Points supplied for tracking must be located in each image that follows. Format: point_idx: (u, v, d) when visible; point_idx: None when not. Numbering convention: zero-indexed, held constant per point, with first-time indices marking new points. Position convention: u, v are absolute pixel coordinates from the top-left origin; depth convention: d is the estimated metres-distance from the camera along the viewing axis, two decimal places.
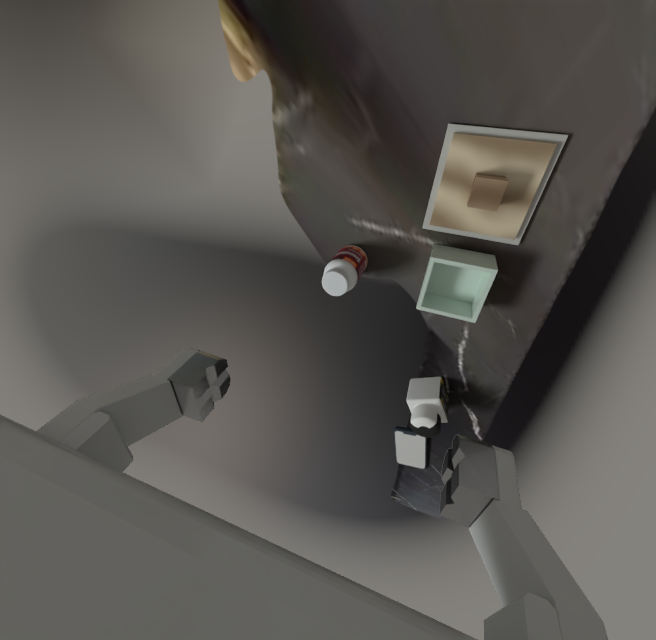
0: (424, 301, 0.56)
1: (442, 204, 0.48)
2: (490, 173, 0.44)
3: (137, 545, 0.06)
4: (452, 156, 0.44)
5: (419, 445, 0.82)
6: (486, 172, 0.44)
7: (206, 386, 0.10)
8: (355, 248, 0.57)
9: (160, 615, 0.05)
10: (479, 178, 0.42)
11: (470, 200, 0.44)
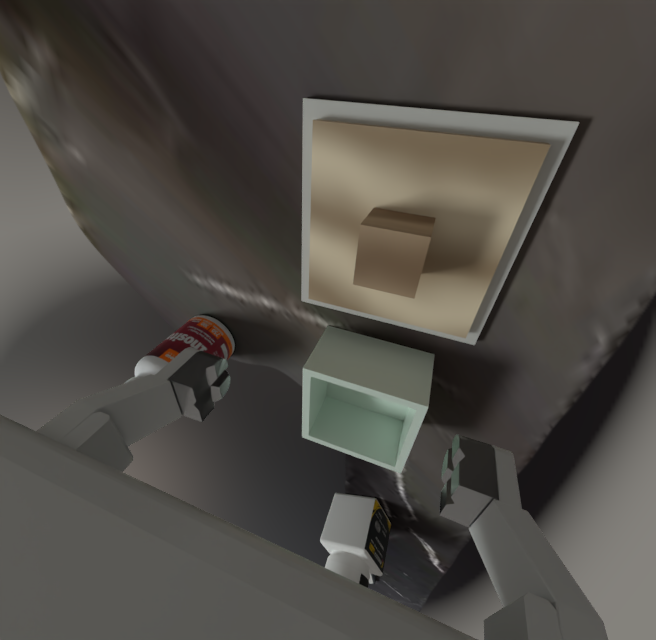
0: (319, 420, 0.32)
1: (323, 264, 0.24)
2: (403, 210, 0.20)
3: (137, 545, 0.06)
4: (320, 172, 0.20)
5: None
6: (394, 207, 0.20)
7: (206, 386, 0.10)
8: (204, 325, 0.33)
9: (160, 615, 0.05)
10: (366, 228, 0.18)
11: (356, 272, 0.19)
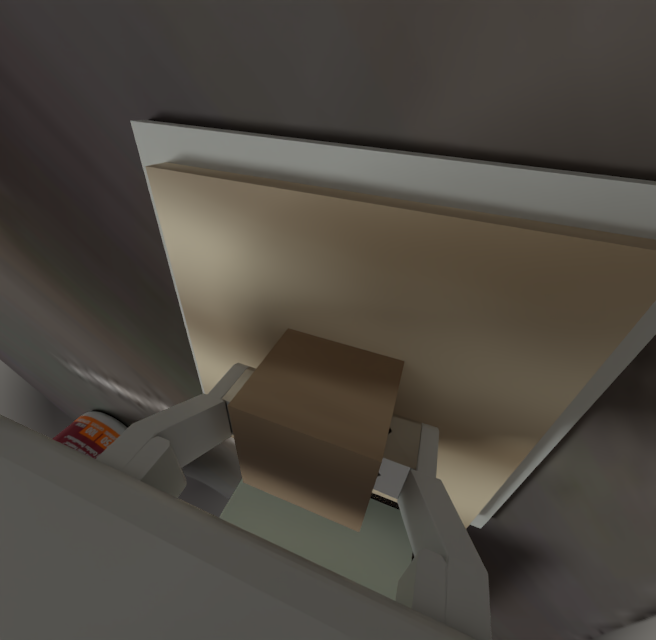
0: None
1: None
2: (340, 340, 0.10)
3: (137, 545, 0.06)
4: (184, 260, 0.10)
5: None
6: (325, 332, 0.10)
7: None
8: (91, 432, 0.23)
9: (160, 615, 0.05)
10: (240, 413, 0.08)
11: (244, 469, 0.10)
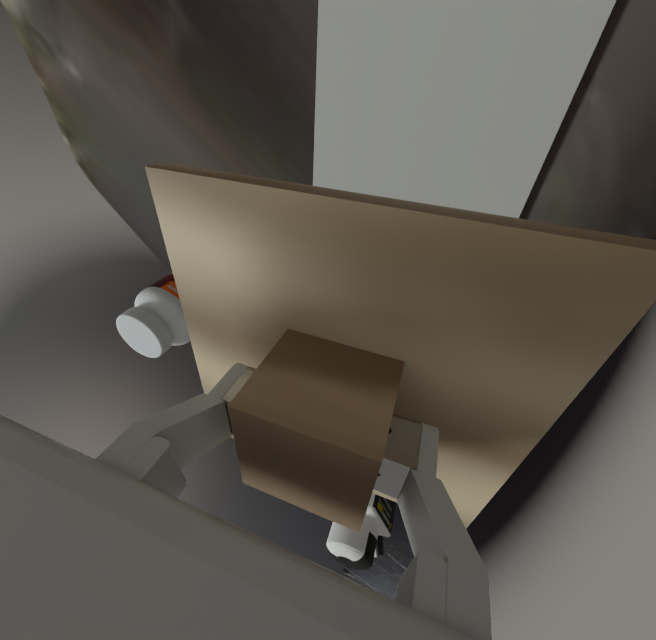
0: None
1: None
2: (340, 341, 0.10)
3: (137, 545, 0.06)
4: (184, 261, 0.10)
5: None
6: (325, 333, 0.10)
7: None
8: None
9: (160, 616, 0.05)
10: (240, 414, 0.08)
11: (244, 469, 0.10)
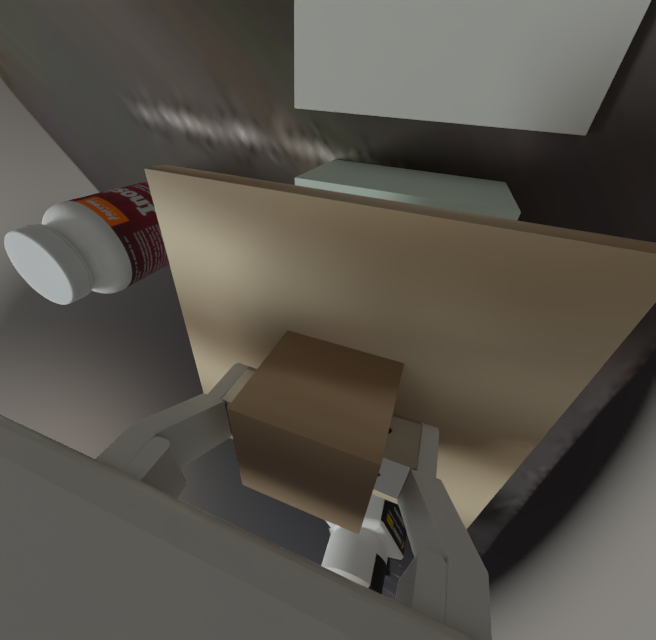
0: None
1: None
2: (340, 342, 0.10)
3: (137, 545, 0.06)
4: (183, 262, 0.10)
5: None
6: (324, 334, 0.10)
7: None
8: None
9: (160, 615, 0.05)
10: (240, 416, 0.08)
11: (244, 471, 0.10)
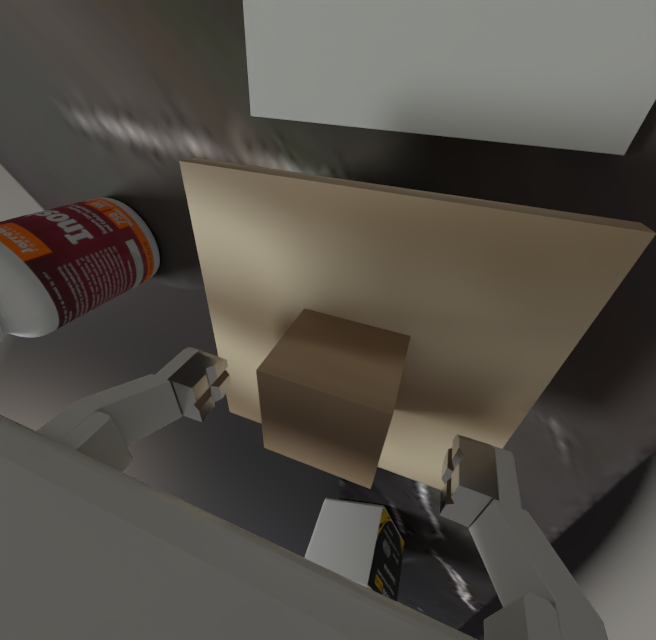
0: None
1: (241, 375, 0.15)
2: (352, 318, 0.11)
3: (137, 545, 0.06)
4: (210, 247, 0.12)
5: None
6: (338, 311, 0.11)
7: (206, 386, 0.10)
8: (98, 205, 0.19)
9: (161, 615, 0.05)
10: (267, 377, 0.09)
11: (266, 433, 0.11)
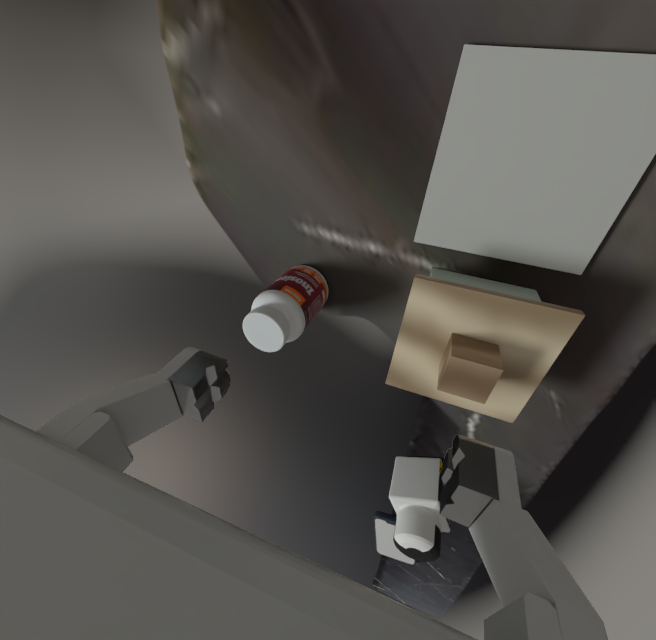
0: None
1: (403, 363, 0.31)
2: (474, 337, 0.27)
3: (137, 545, 0.06)
4: (413, 306, 0.28)
5: None
6: (468, 334, 0.27)
7: (206, 386, 0.10)
8: (308, 271, 0.36)
9: (160, 615, 0.05)
10: (455, 358, 0.25)
11: (442, 382, 0.27)
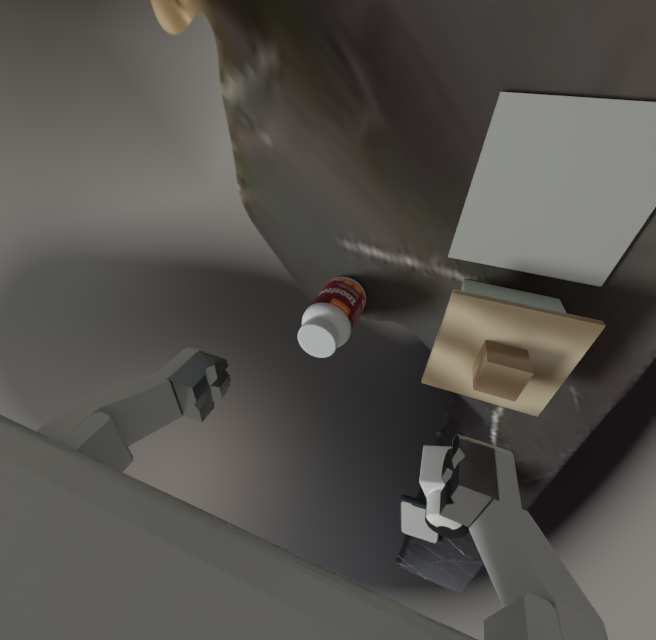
0: None
1: (439, 365, 0.36)
2: (505, 343, 0.31)
3: (137, 545, 0.06)
4: (451, 317, 0.32)
5: None
6: (500, 341, 0.31)
7: (206, 386, 0.10)
8: (349, 283, 0.40)
9: (160, 615, 0.05)
10: (490, 363, 0.29)
11: (477, 383, 0.31)
